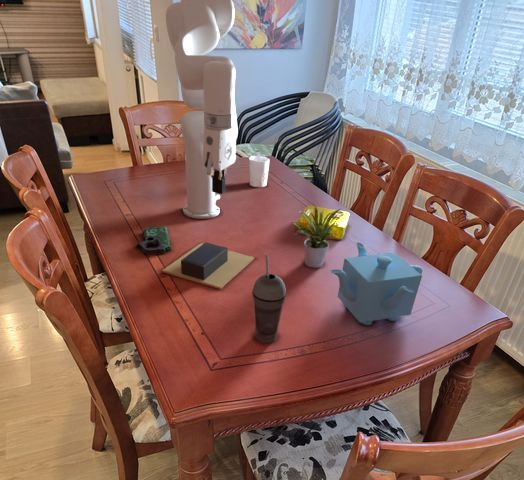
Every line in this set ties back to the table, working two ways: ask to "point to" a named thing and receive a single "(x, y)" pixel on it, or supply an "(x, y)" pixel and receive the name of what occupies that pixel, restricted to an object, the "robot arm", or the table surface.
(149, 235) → the gun
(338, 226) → the yellow package
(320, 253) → the house plant
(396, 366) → the table surface
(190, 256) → the black device
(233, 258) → the cork mat
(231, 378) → the table surface
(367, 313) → the teakettle
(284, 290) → the beverage cup
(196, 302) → the table surface
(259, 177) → the white cup
